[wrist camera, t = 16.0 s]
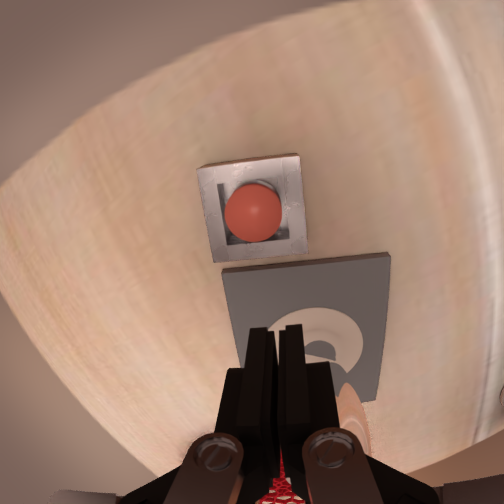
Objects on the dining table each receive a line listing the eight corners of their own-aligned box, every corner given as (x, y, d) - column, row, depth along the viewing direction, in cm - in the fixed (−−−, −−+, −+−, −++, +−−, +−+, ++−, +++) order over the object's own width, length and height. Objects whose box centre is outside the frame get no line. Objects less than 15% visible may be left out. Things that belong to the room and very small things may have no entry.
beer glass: (287, 378, 34) (288, 495, 20) (277, 330, 31) (275, 458, 18) (348, 369, 33) (372, 483, 19) (345, 319, 30) (380, 442, 17)
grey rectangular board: (373, 394, 36) (375, 401, 35) (251, 407, 38) (250, 413, 37) (387, 252, 29) (391, 257, 28) (222, 269, 31) (221, 274, 29)
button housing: (305, 240, 29) (308, 253, 26) (219, 249, 30) (213, 262, 27) (296, 153, 26) (298, 155, 23) (204, 165, 27) (196, 169, 24)
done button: (283, 227, 28) (285, 238, 25) (234, 232, 28) (229, 244, 25) (278, 177, 26) (278, 183, 23) (226, 183, 27) (220, 190, 24)
